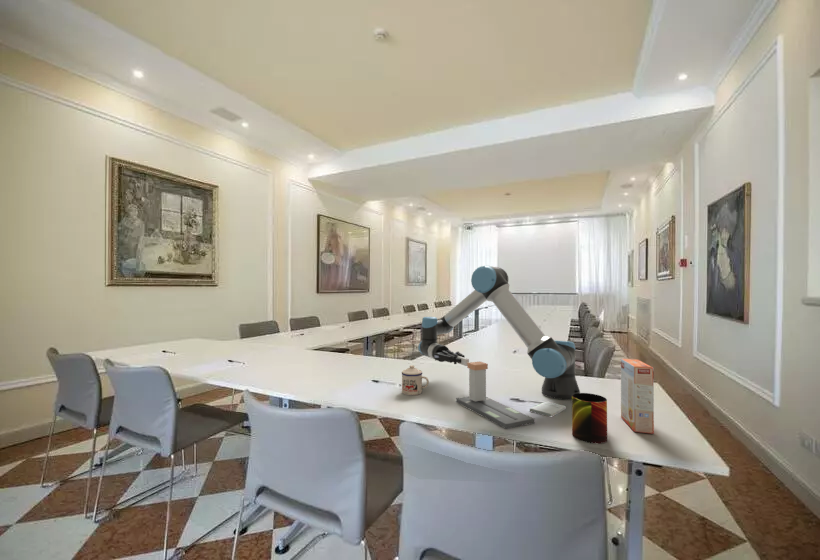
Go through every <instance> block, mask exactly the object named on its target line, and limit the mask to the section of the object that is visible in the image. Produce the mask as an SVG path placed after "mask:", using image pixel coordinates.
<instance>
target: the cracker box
mask: <svg viewBox="0 0 820 560" xmlns="http://www.w3.org/2000/svg"><path fill="white" fill-rule="evenodd" d="M654 370H655V369H654V367H653V366H651V365H649V364H648V363H645V361H641V360H640V359H637V358H620V417H621V419H622V420H623V421H624V422H625V424H627V426H628V427H630V429H631V430H632V431H633V432H634V433H640V434H641V433H642V434H651V435H653V434H655V425H654V423H655V421H654V419H655V417H654V414H655V412H654V407H655V405H654V404H655V403H654V402H655V399H654V395H655V394H654V382H655V381H654V380H655V379H654V376H655V375H654Z"/></svg>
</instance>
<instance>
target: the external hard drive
mask: <svg viewBox="0 0 820 560" xmlns="http://www.w3.org/2000/svg"><path fill="white" fill-rule="evenodd" d="M566 408H567V406H565V405H563V404H558V403H555V402H554V403H553V402H550V401H543V402H542V403H539V404H538V405H535V406H533V407H531V408H529V412H530V411H532V412H531V413H534V412H536V413H535V414H538V413H539V415H542V414H543V415H542V416H546V415H547V416H546V417H549V416H552V417H554V416H555V414H556V415H558V414H560V413H561V412H563V411H565V410H566ZM564 409H565V410H564ZM557 413H558V414H557ZM553 415H554V416H553Z"/></svg>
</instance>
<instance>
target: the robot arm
mask: <svg viewBox="0 0 820 560" xmlns="http://www.w3.org/2000/svg"><path fill="white" fill-rule="evenodd" d="M470 281H471V286H472V288H473V291H472V292H471V293H469V294H468V295H467V296H465V298H463V299H462V300H461V301H460V302H458V304H456V305H455V306H454V307H453V308H451V309H450V310H449V311H448V312H446V313H445V314H444V315H443V316H442V317H441V318H440V319H438V317H436V316H424V317H422V319H421V341H420V342H419V344H418V349H417V350H418V352H419V353H420V354H421V355H423V356H425V357H427V358H430V359H433V360H434V361H437V362H441V363H443V362H447V363H453V364H454V365H457V364H459V365H462V366H464V367H467V363H470V359H469V358H466V357H465V355H464V354H463V353H461V352H460V351H456V352H454V351H452V350H450V349H449V347H448V346H446V345H444V344H441V343H438V336H439V335H444V334H445V335H446V334H449V333H451V332H452V331H453V330H454V327H456V326H457V325H458V324H459V323H460V322H462V321H463V320H464V319H466V318H467V317H468V316H469V315H471V314H472V313H473V312H474V311H475V310H477V309H478V308H479V307H480V306H481V305H484V303H485V302H492V303H493V304H494V306H495V307H496V308H497V309H498V311H499V312H500V313H501V315H502V316H503V318H505V320H506V322H507V323H508V324H509V325H510V327H511V328H512V329H513V331H514V332H515V333H516V334H517V336H518V337H519V338H520V340H521V342H522V343H523V345H525V346H526V347H527V352H526V353H527V355H528V357H529V358H530V360H531V364H532V368H533V369H534V371H535V372H536V374H538V375H539V376H541V377H543V378H544V379H543V383H542V385H541V394H542V395H543V396H545V397H548V398H551V399H555V400H556V399H557V400H563V401H564V400H565V401H567V400H569V401H572V394H575V393H581V390H580V387H579V384H578V381H577V378H576V344H575V343H574V342H573V341H569V340H568V341H567V340H556V339H555V340H554V339H553V337H552V336H549V335H548V336H547V335H545V334H544V332H543V331H542V330H541V328H540V327H539V326H538V324H537V323H536V322H535V321H534V320H533V318H532V317H531V316H530V315H529V313H528V312H527V311H526V310H525V308H524V307H523V306H522V305H521V303H520V302H519V301H518V299H517V298H516V297H515V296H514V295H513V293H512V292H511V291H510V284H509V275H508V273H507V271H506V270H505V269H503V268H501V267H500V266H499V267H498V266H490V265H481V266H479V267H477V268H476V269H474V271H473V272H472V275H471V279H470Z"/></svg>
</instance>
